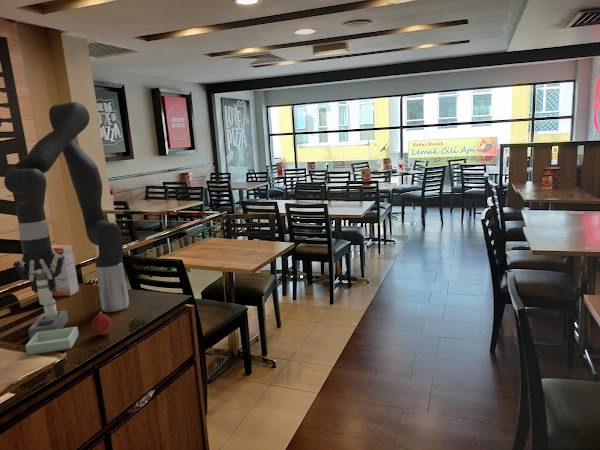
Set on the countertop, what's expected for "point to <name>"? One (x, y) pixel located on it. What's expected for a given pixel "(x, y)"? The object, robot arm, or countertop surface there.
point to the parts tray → (52, 340)
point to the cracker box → (64, 272)
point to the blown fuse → (43, 289)
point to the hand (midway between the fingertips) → (44, 290)
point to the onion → (101, 324)
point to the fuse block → (48, 323)
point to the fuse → (50, 310)
